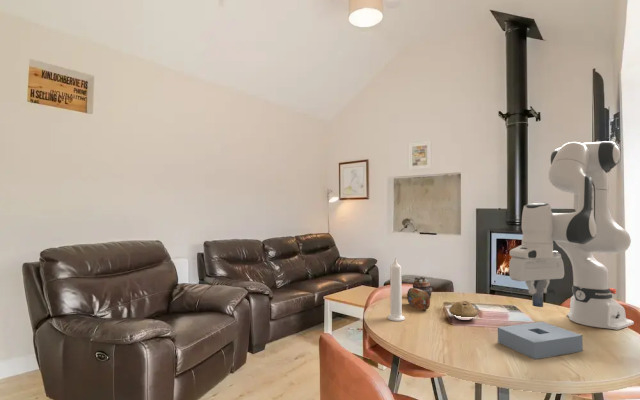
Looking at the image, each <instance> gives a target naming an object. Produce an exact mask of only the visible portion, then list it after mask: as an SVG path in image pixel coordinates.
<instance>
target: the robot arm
mask: <svg viewBox="0 0 640 400" xmlns="http://www.w3.org/2000/svg"><path fill="white" fill-rule="evenodd" d="M620 157H621V151H620V148H619V145H618V144H617V143H616V142H614V141H609V140H608V141H607V140H604V141H593V142H591V141H590V142H583V143H581V142H577V141H571V142H570V141H569V142H567V143H565V144H563V145H561V147H557V148H556V149H554V150H553V151H552V152H551V155H550V168H549V170H548V179H549V183H551V185H552V186H554V187H555V188H556V189H558V190H560V191H562V192H566V193H570V194H573V209H574V210H575V211H574V212H559V213H558V212H553V211H552V208H551V205H550V203H547V202H531V203H527V204H525V205H523V207H522V208H523V209H522V214H521V231H522V239H521V245H518V246H516V247H514V248H512V249H510V250H509V256H510V257H511V258H510V259H509V265H508V267H509V269H508V270H509V271H508V273H509V277H510V279H511V280H513V281H515V282H516V281H517V282H525V285H526V286H527V288H528V294H531V295H532V294H536V293H537V292H536V291H537V289H536V288H534V285H533V284H534V280H543V294H547V293H548V290H547V289H548V287H549V285H550V283H551V282H550V281H551V280H560V279H563V278H564V276H565V265H564V260H563V259H562V254H561V253H560V252H559V251H558V250H554V242H555V244H556V245H557V246H558V247H559V248H561V249H562V251H564V253H565V254H566V255H567V257H568V259H569V261H570V263H571V266H572V277H573V278H572V279H573V280H572V281H573V284H572V287H571V290H572V292H571V293H572V294H573V295H572V296H571V297H570V304H569V312H567V314H566V315H567V317H568V318H569V320H570V321H572V322H574V323H577V324H580V325H584V326H587V327H594V328H601V329H602V328H603V329H611V330H616V331H618V330H621V329H624V328H627V327H630V326H633V325H634V324H635V323H634V321H633V320H632V319H629V318H627V317H626V315H627V314H626V310H625V307H624V306H623V305H621V304H620V303H619V302H618V301H616V300H615V299H614V298H613V294H614V295H616V294H617V289H616V288H612V287H609V269H608V268H607V267H606V265H604V263H602V262H600V261H598V260H597V259H596V258H595V256H594V255H593V253H596V254H605V255H606V254H607V255H609V254H610V255H612V254H623V253H624V252H626V251H627V250H628V249H629V247H630V245H631V242H632V241H631V236H630V234H629V232H628V231H627V229H625V228H623V227H622V226H620V225H619V224H618V223H617V222H616V221H615V219H614V218H613V216H612V215H611V211H610V205H609V203H610V201H609V178H608V177H609V176H608V173H609V172H611V170H612V169H614V168H615V167H616V166H617V165H618V164H619V162H620Z"/></svg>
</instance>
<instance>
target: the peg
mask: <svg viewBox="0 0 640 400" xmlns="http://www.w3.org/2000/svg"><path fill="white" fill-rule="evenodd" d="M533 285H534V288H536V289H537V291H536V292H537V293H536V294H531V296H532V298H531V300H532V306H533V307H536V308H543V307H544V293H543V280H534V284H533Z"/></svg>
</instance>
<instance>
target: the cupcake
mask: <svg viewBox="0 0 640 400" xmlns="http://www.w3.org/2000/svg"><path fill="white" fill-rule="evenodd" d="M412 288H417V289H419V290H422V291H425V292H427V293H428V295H429V297H430V299H431V298H432V291H433V287H431V283H430V282H429V281H428V280H427V279H426V278H425V277H420V278H419V277H415V278H414V280H413V282H412Z"/></svg>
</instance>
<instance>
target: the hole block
mask: <svg viewBox="0 0 640 400" xmlns="http://www.w3.org/2000/svg"><path fill="white" fill-rule="evenodd" d="M583 338H584V337H583V335H582V334H580V333H577V332H574V331H571V330H568V329H565V328H563V327H559V326H557V325H554V324H550V323H548V322H545V321H537V322H536V321H535V322H529V323H522V324H520V323H519V324H513V325H507V326H506V325H505V326H498V327H497V342H498V343H499V344H501V345H503V346H505V347H508V348H510V349H512V350H514V351H515V352H517V353H520V354H522V355H525V356H527V357H528V358H530V359H533V360H538V359H539V360H540V359H545V358H546V359H547V358H549V357H550V358H551V357H556V356H561V355H568V354H573V353H574V354H575V353H579V352H583V351H584V350H583V349H584V347H583V345H584V344H583Z"/></svg>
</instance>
